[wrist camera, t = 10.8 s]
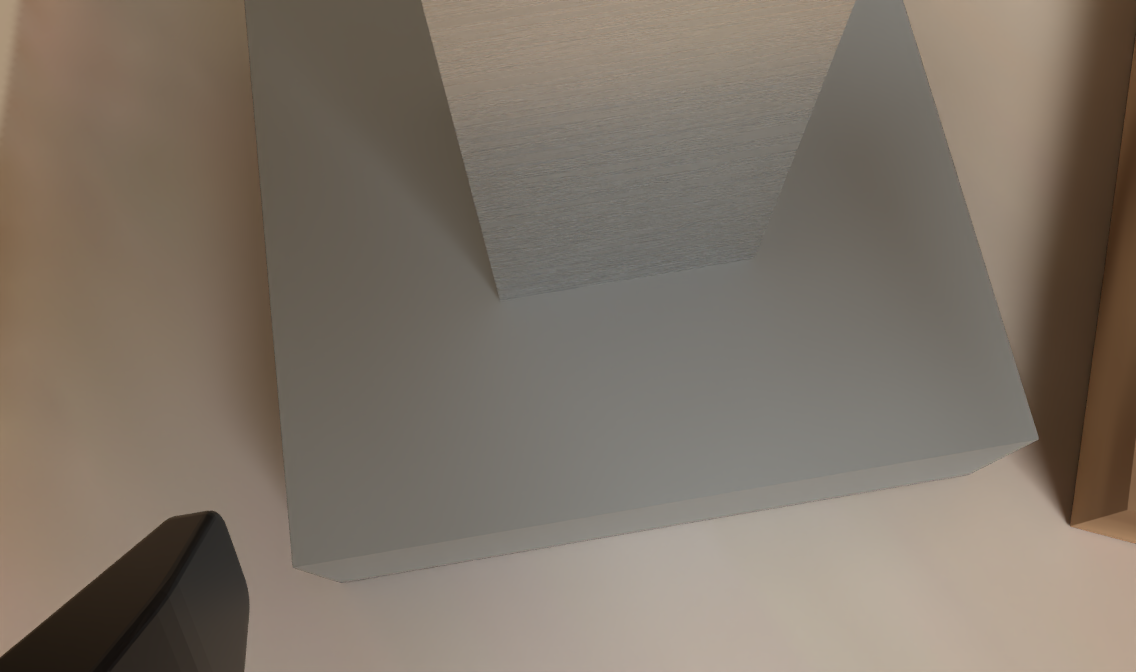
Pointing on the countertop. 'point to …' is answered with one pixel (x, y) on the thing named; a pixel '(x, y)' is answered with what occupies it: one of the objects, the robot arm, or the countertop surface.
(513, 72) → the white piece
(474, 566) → the countertop surface
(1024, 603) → the countertop surface
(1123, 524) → the tan wooden board
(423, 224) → the block
